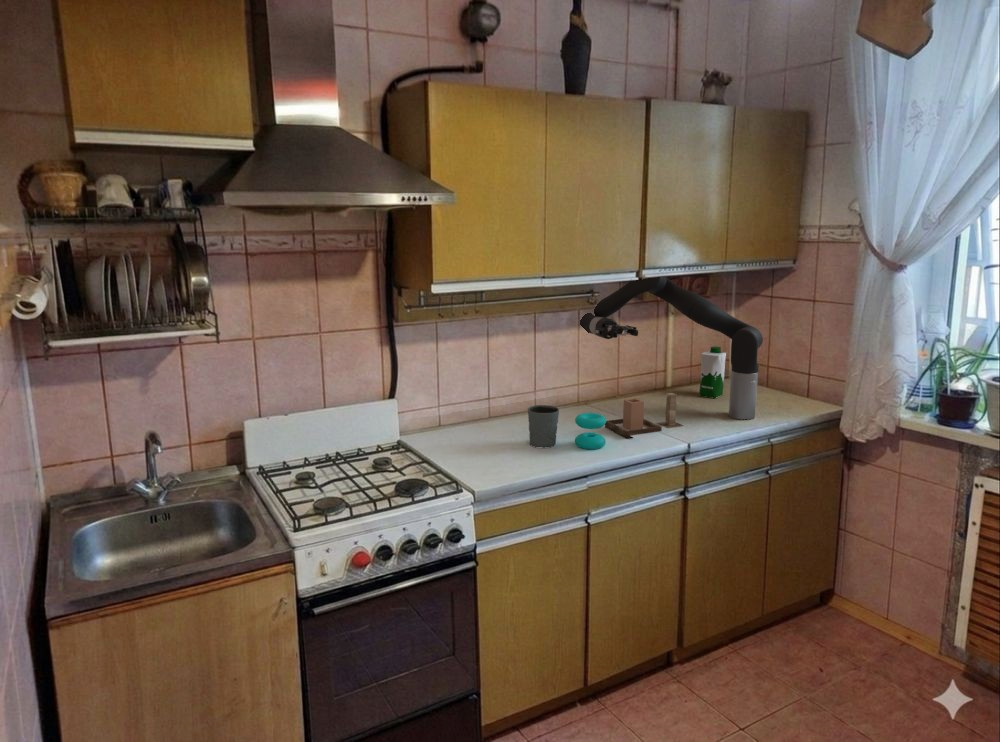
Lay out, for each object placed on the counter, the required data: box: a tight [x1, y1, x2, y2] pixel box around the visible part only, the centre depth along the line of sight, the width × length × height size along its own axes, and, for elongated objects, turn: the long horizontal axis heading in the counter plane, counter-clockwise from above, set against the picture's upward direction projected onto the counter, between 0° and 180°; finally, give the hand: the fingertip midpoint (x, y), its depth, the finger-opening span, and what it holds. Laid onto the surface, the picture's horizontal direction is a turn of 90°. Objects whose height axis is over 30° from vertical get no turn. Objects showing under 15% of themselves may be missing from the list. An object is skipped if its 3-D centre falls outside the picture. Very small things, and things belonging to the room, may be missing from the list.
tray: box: [604, 418, 663, 440], centre depth 242 cm, size 14×14×2 cm
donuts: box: [574, 412, 607, 450], centre depth 226 cm, size 10×10×10 cm
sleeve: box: [622, 397, 645, 431], centre depth 241 cm, size 5×5×10 cm
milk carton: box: [699, 346, 727, 399], centre depth 285 cm, size 9×9×20 cm
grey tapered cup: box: [527, 404, 560, 448], centre depth 228 cm, size 10×10×12 cm
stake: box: [656, 392, 685, 429], centre depth 245 cm, size 7×7×12 cm
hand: (626, 334), depth 247 cm, fingers open, 8 cm apart
